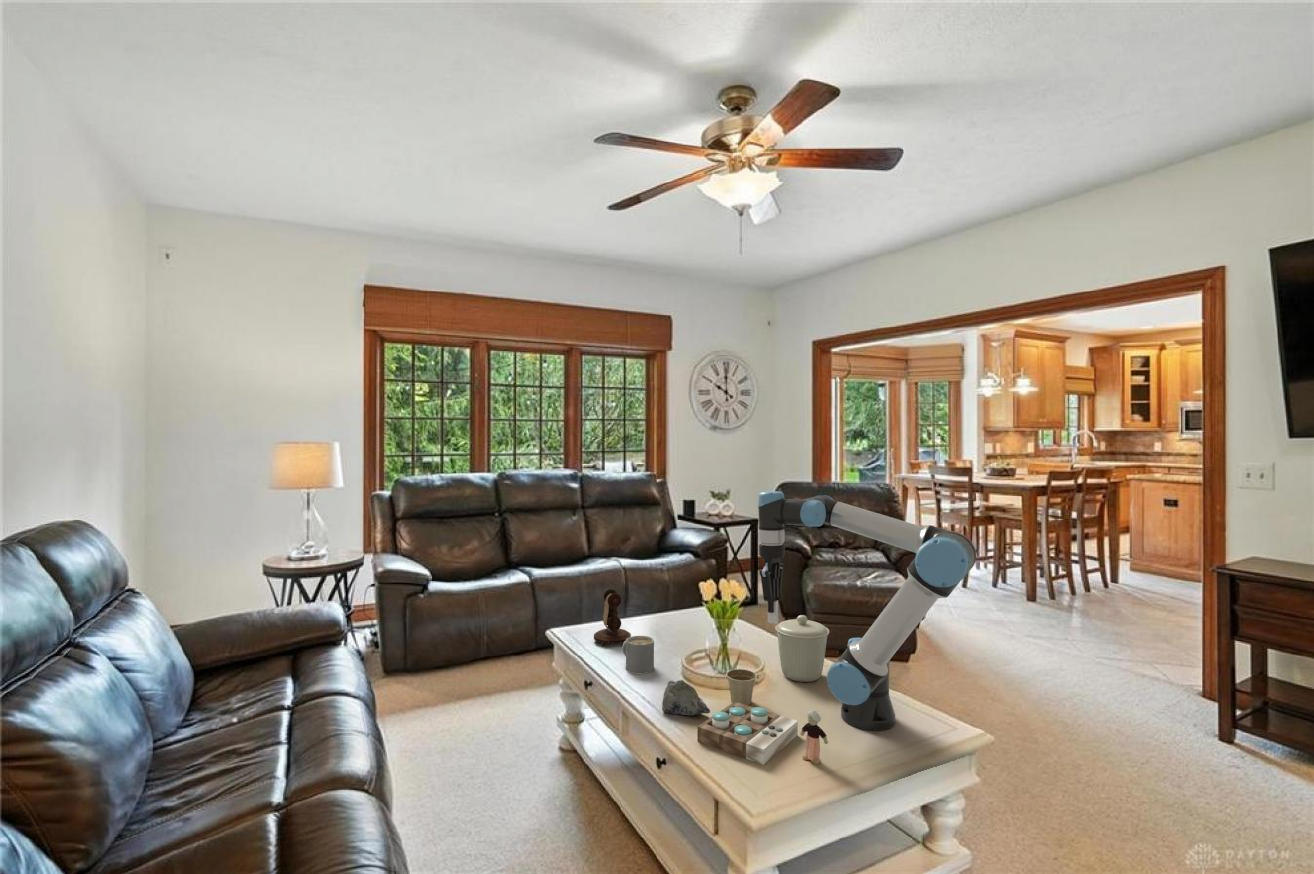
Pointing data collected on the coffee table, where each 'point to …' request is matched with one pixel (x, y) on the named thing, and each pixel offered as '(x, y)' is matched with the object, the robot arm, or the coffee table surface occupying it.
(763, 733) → the button board
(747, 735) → the button
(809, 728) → the grandmother figurine
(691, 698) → the mineral rock
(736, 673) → the flower pot
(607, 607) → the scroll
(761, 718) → the button
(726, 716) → the button
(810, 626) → the canister
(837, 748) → the coffee table surface
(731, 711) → the button
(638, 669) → the coffee mug
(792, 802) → the coffee table surface
